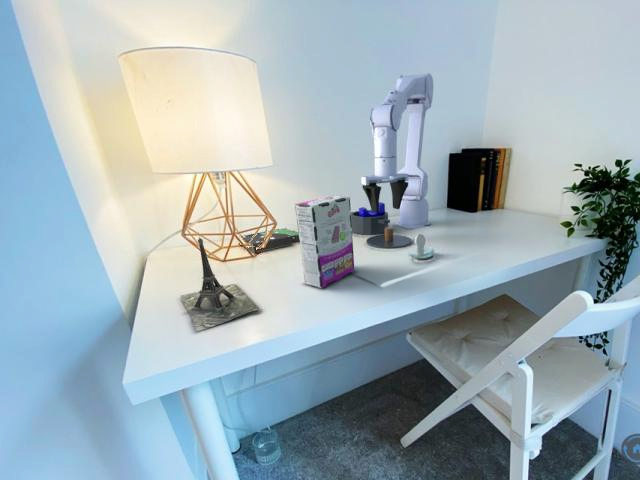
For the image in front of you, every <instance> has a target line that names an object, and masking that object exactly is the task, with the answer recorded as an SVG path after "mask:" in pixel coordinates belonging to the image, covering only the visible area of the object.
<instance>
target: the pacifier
mask: <svg viewBox="0 0 640 480" xmlns="http://www.w3.org/2000/svg"><path fill="white" fill-rule="evenodd" d="M414 243H415V244H414V245H416V253H409V252H406V255H408V256H409V257H412V258H413V262H415V263H420V264H424V263H431V262H434V261H436V260H437V258H438V257H437V256H436V255H434V254H435V250H434V248H433V247H432V246H425V245H426V237H425V235H424V234H422V233H418V234H417V235H416V236H415V238H414ZM428 258H429V259H428Z"/></svg>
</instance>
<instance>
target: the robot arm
mask: <svg viewBox="0 0 640 480" xmlns="http://www.w3.org/2000/svg"><path fill="white" fill-rule="evenodd" d="M433 96H434V79H433V76H432V74H431V73H430V72H428V73H422V74H409V75H403V74H401V75H399V76H398V77H397V80H396V89H391V90H390V91H389V92H388V94H387V95H386V97H385V98H384V99H383V100H382V102H381V103H380V104H376V105H373V106H374V107H372V108H371V109H370V112H369V125H370V127H371V136H372V138H373V142H374V143H373V144H374V146H373V147H374V151H373V152H374V174H372V175H371V174H370V175H367V176H361V177H360V179H361V186H362V190H363V191H364V193H365V195H366V198H367V200H368V203H369V206H370V210H372V212H374V213H378V211H379V202H380V196H381V191H382V186H380V185H379V184H387V183H389V187H390V190H391V196H392V197H391V198H392V209H394V210H399V222H395V223H394V224H395V225H396V226H397V225H398V226H401V227H406V228H409V229H411V228H416V227H420V226H423V227H425V226H430V222H429V209H430V208H429V207H430V206H429V202H428V200H427V199H426V196H427V195H428V190H429V182H428V180H429V177H428V176H429V175H428V174H427V172H426V171H425V170H423V168H422V167H421V163H422V162H421V161H422V152H423V151H422V150H423V142H424V141H423V140H424V129H425V121H426V120H425V119H426V113H427V111H428V110H429V109H431V108H432V104H433V98H434V97H433ZM405 111H407V112H408V113H409V116H408V129H407V140H406V152H405V165H404V167H403V168H401V169H400V170H398V169H397V168H398V166H397V164H398V162H397V161H398V141H397V140H398V130H399V129H400V127H401V123H402V122H401V121H402V119H403V114H404V112H405ZM397 170H398V172H397Z"/></svg>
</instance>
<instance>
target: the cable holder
mask: <svg viewBox="0 0 640 480" xmlns="http://www.w3.org/2000/svg"><path fill="white" fill-rule="evenodd" d="M367 210H368V208H367V207H364V206H362V207H358V211H359V214H360V217H377V216H383V215H385V212H386V203H384V202H382V201H379V211H378V213H374V212H372V210H371V209H370V210H371V211H369V212H368V211H367Z"/></svg>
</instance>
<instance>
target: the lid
mask: <svg viewBox="0 0 640 480" xmlns="http://www.w3.org/2000/svg"><path fill="white" fill-rule="evenodd" d="M365 240H366V241H365V242H366V244H367V245H368V246H370V247H371V248H376V249H385V250H386V249H387V250H388V249H391V250H392V249H400V248H405V247H407V246H410V245H411V244H412V243H413V242H412V238H410V237H409V236H407V235H402V234H401V235H400V234H394V227H393V226H388V227H385V233H384V234H380V235H372V236H370V237H368V238H367V239H365Z"/></svg>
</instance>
